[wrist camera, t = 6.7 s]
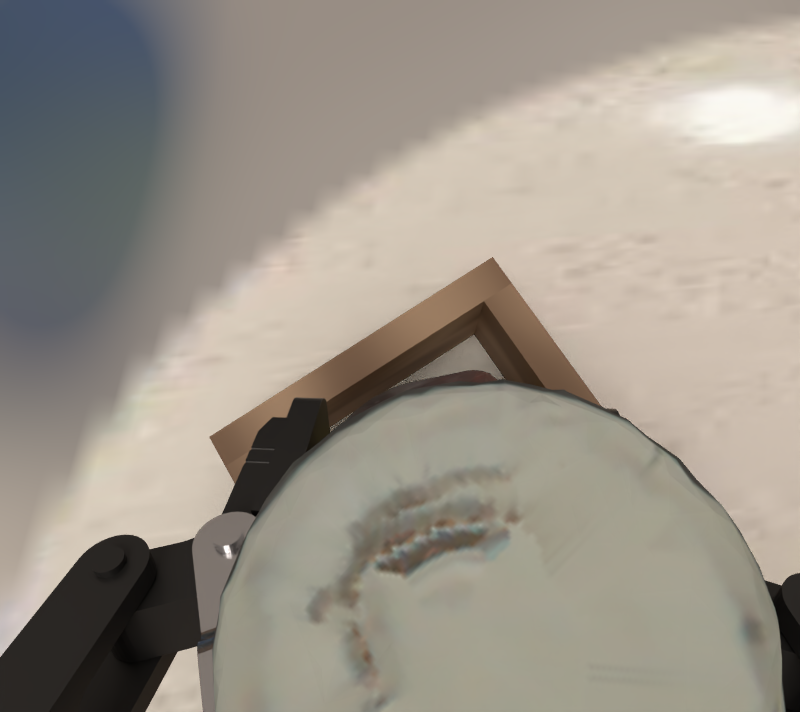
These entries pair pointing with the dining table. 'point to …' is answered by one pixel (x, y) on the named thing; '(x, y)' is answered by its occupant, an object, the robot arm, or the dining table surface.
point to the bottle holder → (421, 355)
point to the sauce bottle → (493, 569)
